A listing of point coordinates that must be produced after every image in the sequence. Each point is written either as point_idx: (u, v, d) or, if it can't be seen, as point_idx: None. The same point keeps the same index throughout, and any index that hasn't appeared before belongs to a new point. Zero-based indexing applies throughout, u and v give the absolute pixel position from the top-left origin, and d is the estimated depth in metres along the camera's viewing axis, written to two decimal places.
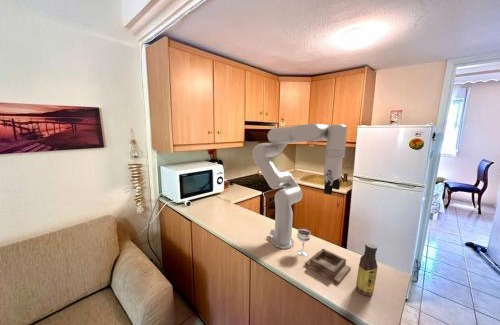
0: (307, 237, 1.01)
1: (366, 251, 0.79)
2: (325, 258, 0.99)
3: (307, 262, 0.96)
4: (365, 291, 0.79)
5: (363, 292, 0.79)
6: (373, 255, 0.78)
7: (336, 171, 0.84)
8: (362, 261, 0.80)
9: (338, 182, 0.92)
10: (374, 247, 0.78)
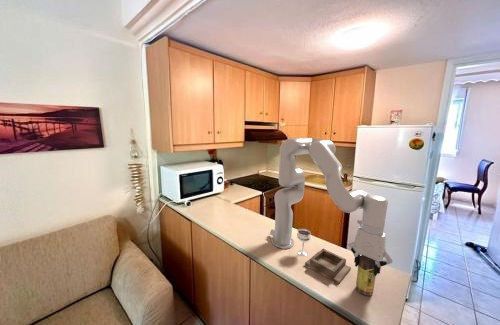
0: (307, 237, 1.01)
1: None
2: (325, 258, 0.99)
3: (307, 262, 0.96)
4: (364, 291, 0.79)
5: (363, 292, 0.79)
6: None
7: None
8: (361, 261, 0.80)
9: (359, 256, 0.83)
10: None
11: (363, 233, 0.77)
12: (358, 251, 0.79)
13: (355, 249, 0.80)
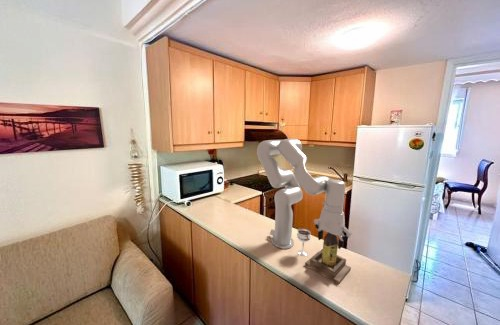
0: (307, 237, 1.01)
1: None
2: None
3: (307, 262, 0.96)
4: (327, 264, 0.92)
5: (326, 265, 0.92)
6: None
7: None
8: (325, 238, 0.92)
9: (322, 231, 0.96)
10: None
11: (326, 212, 0.89)
12: (322, 228, 0.91)
13: (320, 227, 0.92)
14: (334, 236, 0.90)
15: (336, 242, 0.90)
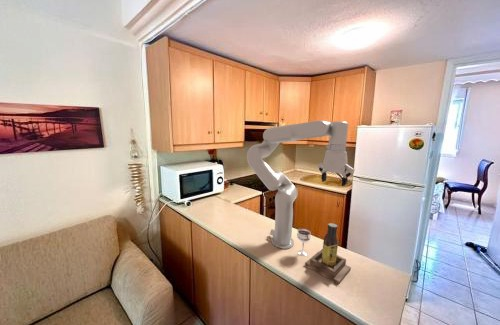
0: (307, 237, 1.01)
1: (328, 230, 0.92)
2: None
3: (307, 262, 0.96)
4: (327, 264, 0.92)
5: (326, 265, 0.92)
6: (334, 233, 0.90)
7: None
8: (325, 238, 0.92)
9: (326, 174, 1.01)
10: (334, 226, 0.90)
11: (329, 153, 0.95)
12: (326, 169, 0.97)
13: (324, 168, 0.97)
14: (334, 236, 0.90)
15: (336, 242, 0.90)
